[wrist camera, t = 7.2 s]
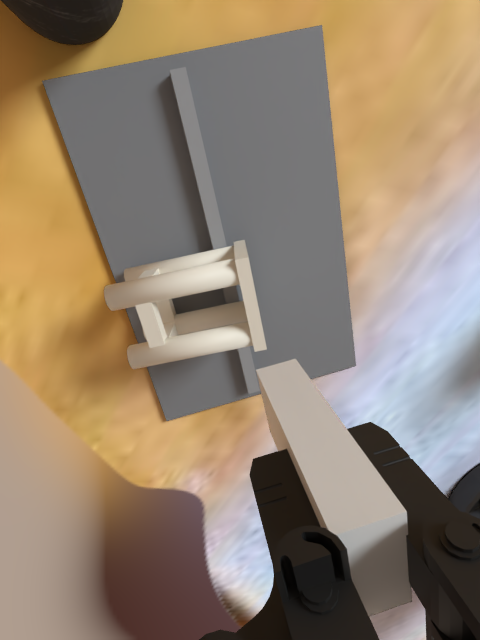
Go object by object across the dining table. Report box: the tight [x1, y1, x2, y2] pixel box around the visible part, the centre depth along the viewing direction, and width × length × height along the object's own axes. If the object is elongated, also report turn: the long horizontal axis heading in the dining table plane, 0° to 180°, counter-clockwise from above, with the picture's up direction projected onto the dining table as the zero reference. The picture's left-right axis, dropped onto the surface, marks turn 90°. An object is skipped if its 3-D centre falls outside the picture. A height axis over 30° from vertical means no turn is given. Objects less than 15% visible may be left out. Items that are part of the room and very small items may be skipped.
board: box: [42, 25, 356, 421], centre depth 26 cm, size 26×18×1 cm
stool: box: [104, 240, 267, 369], centre depth 24 cm, size 6×6×9 cm
